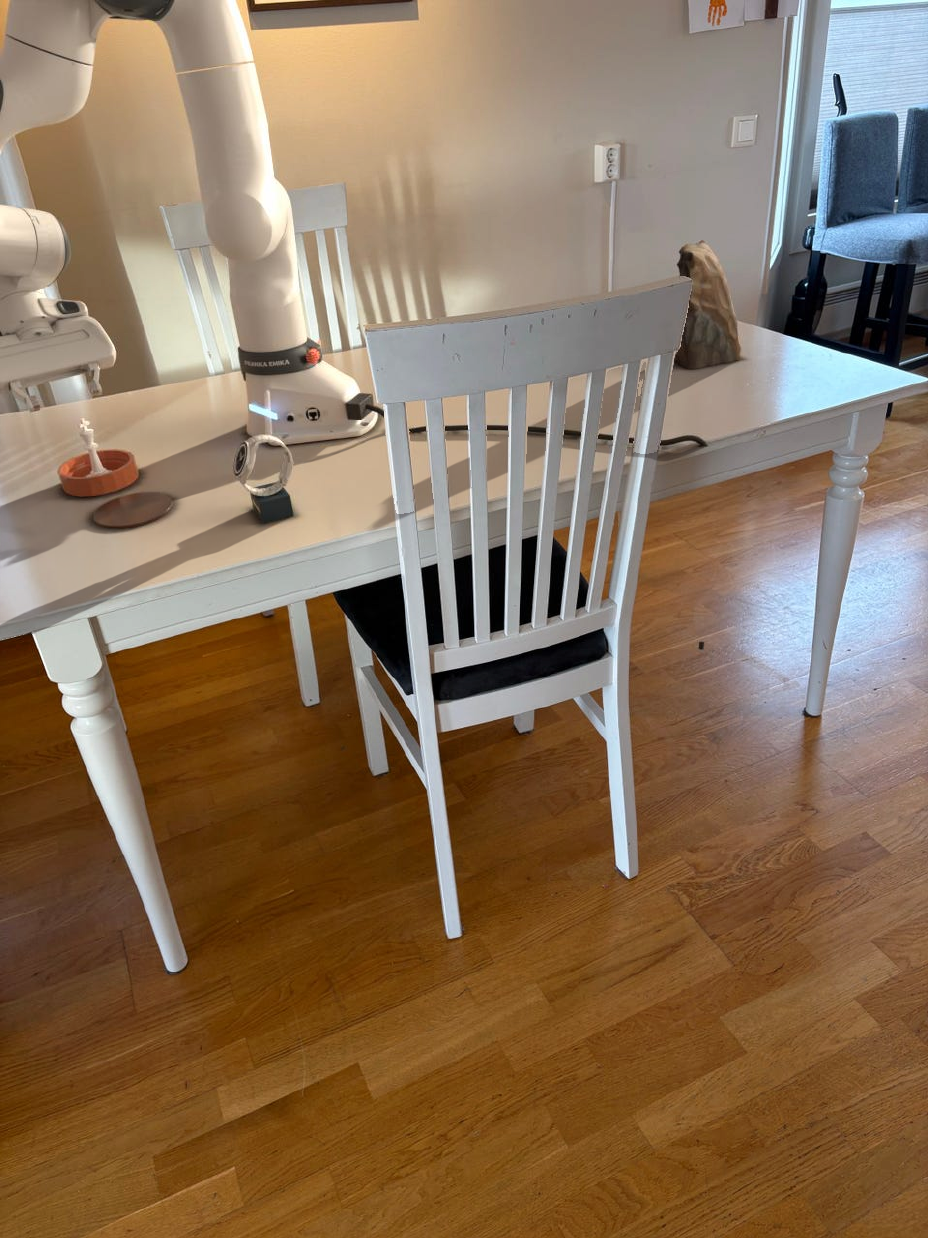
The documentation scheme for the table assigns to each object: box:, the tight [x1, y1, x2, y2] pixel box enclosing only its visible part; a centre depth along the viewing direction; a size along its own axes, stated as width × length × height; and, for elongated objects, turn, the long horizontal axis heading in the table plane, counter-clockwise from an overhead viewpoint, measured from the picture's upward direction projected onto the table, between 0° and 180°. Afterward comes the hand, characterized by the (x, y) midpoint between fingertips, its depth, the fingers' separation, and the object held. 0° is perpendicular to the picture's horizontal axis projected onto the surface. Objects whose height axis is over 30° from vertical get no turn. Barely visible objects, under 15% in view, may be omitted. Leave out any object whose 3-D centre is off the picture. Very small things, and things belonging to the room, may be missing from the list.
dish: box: [56, 448, 140, 497], centre depth 138 cm, size 11×11×3 cm
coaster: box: [92, 491, 174, 530], centre depth 130 cm, size 11×11×1 cm
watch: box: [232, 435, 295, 524], centre depth 123 cm, size 6×8×11 cm
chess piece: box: [77, 417, 112, 477], centre depth 136 cm, size 5×5×10 cm
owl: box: [674, 239, 743, 370], centre depth 166 cm, size 13×13×20 cm
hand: (66, 401), depth 137 cm, fingers open, 8 cm apart
